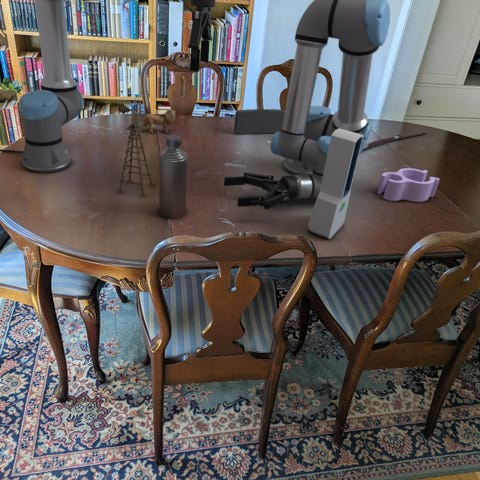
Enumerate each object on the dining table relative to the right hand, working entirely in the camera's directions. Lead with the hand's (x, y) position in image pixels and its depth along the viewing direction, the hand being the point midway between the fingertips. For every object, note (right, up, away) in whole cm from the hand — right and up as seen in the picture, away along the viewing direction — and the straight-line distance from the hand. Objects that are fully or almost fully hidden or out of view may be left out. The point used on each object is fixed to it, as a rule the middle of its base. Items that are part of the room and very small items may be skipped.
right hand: (230, 191), depth 141 cm
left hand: (-10, +40, +6) cm, 42 cm away
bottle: (-17, -6, -1) cm, 19 cm away
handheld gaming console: (+11, +32, +63) cm, 72 cm away
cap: (-15, +13, -14) cm, 24 cm away
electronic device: (+28, -11, -1) cm, 31 cm away
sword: (+71, +30, +70) cm, 104 cm away
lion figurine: (-31, +31, +54) cm, 69 cm away
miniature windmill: (-31, +2, +9) cm, 32 cm away
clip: (+61, +2, +24) cm, 66 cm away
